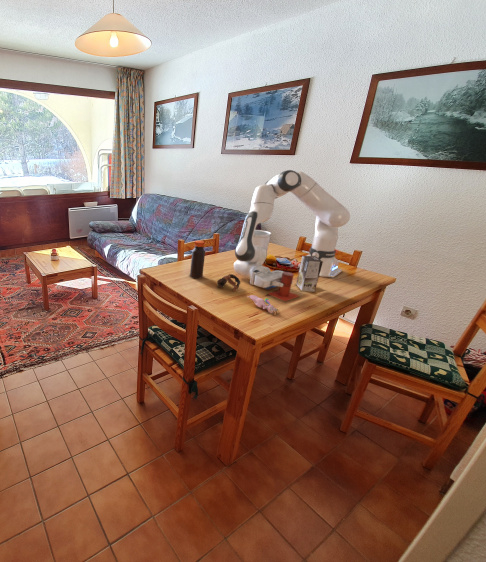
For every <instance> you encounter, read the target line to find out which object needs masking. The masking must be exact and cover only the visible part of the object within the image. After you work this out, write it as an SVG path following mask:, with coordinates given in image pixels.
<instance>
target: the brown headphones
mask: <svg viewBox="0 0 486 562" xmlns="http://www.w3.org/2000/svg"><path fill="white" fill-rule="evenodd" d="M233 279H234V280H233ZM227 283H228V284H230V285H231V286H232V287H233V288H232V291H233V292H236V291H237V290H239V288H240V285H241V280H240V279H239V278H238V277H237V276H236V275H234V274H232V273H229V274H227V275H224V276H223V277H221V278H219V279H218V280H217V286H218V287H217V288H220V289H223V288H224V286H225V285H226V284H227Z"/></svg>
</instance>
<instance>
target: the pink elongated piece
mask: <svg viewBox="0 0 486 562" xmlns="http://www.w3.org/2000/svg"><path fill="white" fill-rule="evenodd" d="M247 298H249V299H251V301H253V303H254V304H255V305H256V307H258V308H262V309H263V310H267V312H268V313H269V314H273V315H274V316H275V315H276V314H280V311H281V310H279V309H278V308H276V307H275V306H274V305H273V304H271V302H270V299H269V298H268V297H266V298H265V299H263V298H261V297H259V296H257V295H255V294H252V295H249V296H248V295H247Z"/></svg>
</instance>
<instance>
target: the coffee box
mask: <svg viewBox="0 0 486 562" xmlns="http://www.w3.org/2000/svg"><path fill="white" fill-rule="evenodd" d="M322 263H323V261H321V260H320V259H319V258H317V257H316V256H307V255H302V256H301V261H300V265H299V270H298V274H297V279H296V283H295V284H296V285H297V287H298V288H299V289H300V291H303V292H316V288H317V285H318V282H319V277H320V276H319V274H320V271H321V267H322Z"/></svg>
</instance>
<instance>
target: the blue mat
mask: <svg viewBox="0 0 486 562" xmlns="http://www.w3.org/2000/svg"><path fill="white" fill-rule="evenodd" d="M277 287H278V286H269V287H266V288H264V289H265V290H270V289H275V288H277Z"/></svg>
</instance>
